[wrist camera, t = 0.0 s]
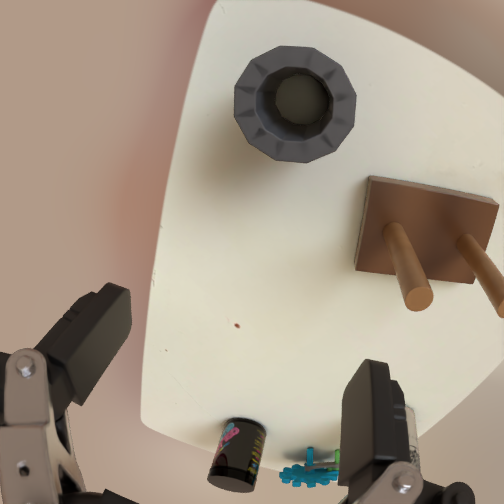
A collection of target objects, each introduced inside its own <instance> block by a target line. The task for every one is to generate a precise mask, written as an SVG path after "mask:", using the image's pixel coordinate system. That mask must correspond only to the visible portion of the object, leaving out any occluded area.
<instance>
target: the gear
mask: <svg viewBox="0 0 504 504" xmlns="http://www.w3.org/2000/svg"><path fill="white" fill-rule="evenodd" d="M339 453H340V450H335V462H325V463H313V448H308V449H307V463H305V464H304V466H300V465H299V464H295V465H292V468H288V467H285V468H284V469H283V472H280V473H279V477H280V478H281V479H282V482H283V483H286V484H287V483H290V481H291V480H294V481H293V482H292V483H293V484H292V486H293V487H300V486H301V482H304V483H306V484H307V487H308V488H311V487H315V486H316V483H320V484H322V485H328V484H329V483H330V480H332V481H336V480H337V477H338V474H339Z"/></svg>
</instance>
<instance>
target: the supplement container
mask: <svg viewBox="0 0 504 504" xmlns="http://www.w3.org/2000/svg"><path fill="white" fill-rule="evenodd" d="M265 439H266V431H265V429H264V427H263V426H262V425H260V424H259V423H257V422H255V421H252V420H249V419H243V418H236V419H232V420H229V421H228V422H227V423H226V424H225V425H224V428H223V431H222V435H221V438H220V441H219V444H218V447H217V450H216V453H215V457H214V460H213V463H212V466H211V468H210V471H209V474H208V478H207V480H208V481H209V483H211V484H212V485H214V486H216V487H218V488H221V489H224V490H228V491H232V492H240V493H247V492H252V491H254V488H255V484H256V480H257V475H258V470H259V466H260V462H261V457H262V453H263V448H264V444H265Z"/></svg>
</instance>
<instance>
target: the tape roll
mask: <svg viewBox="0 0 504 504" xmlns="http://www.w3.org/2000/svg"><path fill="white" fill-rule="evenodd" d="M295 74H302V75H311V76H312V77H314V78H315V79H317V80H319V81H320V82H322V83H323V85H324V87H325V89H326V91H327V93H328V95H329V101H328V110H327V111H326V112H325V114H324V115H323V117H322V118H321V119H320V120H319V121H316V122H314V123H312V124H310V125H298V124H292V123H291V122H289V121H288V120H286V119H285V118H283V117H282V116H281V114H280V112H279V110H278V109H277V107H276V105H275V100H276V90H277V89H278V87H279V86H280V84H281V83H282V81H283V80H284V79H286V78H289V77H291V76H293V75H295ZM356 96H357V95H356V93H355V91H354V89H353V87H352V85H351V83H350V81H349V79H348V77H347V75H346V73H345V71H344V69H343V67H342V66H341V65H340V64H338V63H337V62H335V61H334V60H332V59H330V58H329V57H327V56H326V55H324V54H323V53H321V52H320V51H318V50H316V49H315V48H310V47H296V46H278V47H276V48H274V49H272V50H270V51H268V52H266V53H264V54H262V55H260V56H258V57H256V58H254V59H252V60H251V61H250V63H249V64H248V66H247V67H246V69H245V70H244V72H243V73H242V75H241V77H240V78H239V80H238V81H237V83H236V85H235V86H234V117H235V119H236V121H237V123H238V125H239V126H240V128H241V130H242V132H243V134H244V135H245V137H246V139H247V141H248V143H249V144H251V145H252V146H254V147H255V148H257V149H259V150H260V151H262V152H263V153H265V154H266V155H268V156H269V157H271V158H272V159H274V160H276V161H287V162H297V163H309V162H311V161H313V160H316V159H318V158H321V157H323V156H325V155H328V154H330V153H332V152H335V151H336V150H337V148H338V147H339V146H340V144H341V143H342V142H343V140H344V139H345V138H346V136H347V135H348V134H349V132H350V131H351V130H352V128H353V127H354V121H355V109H356Z"/></svg>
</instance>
